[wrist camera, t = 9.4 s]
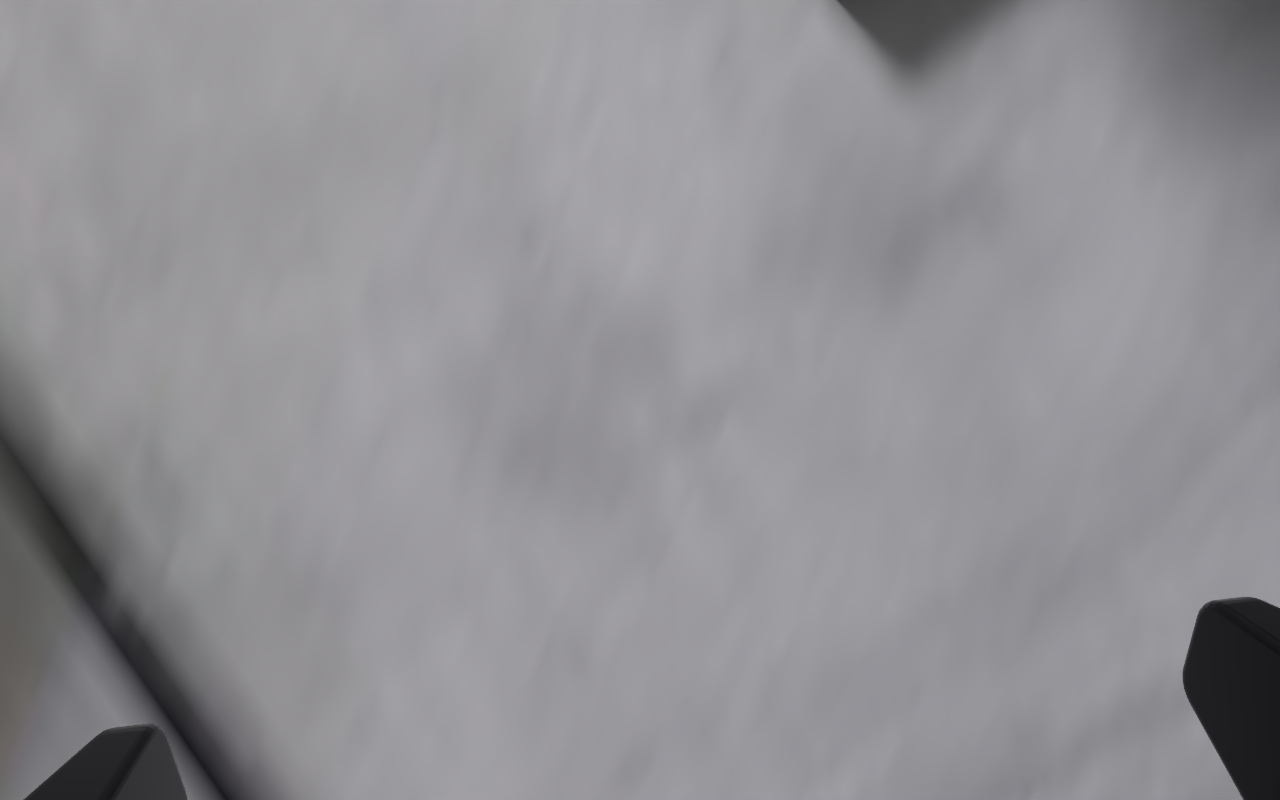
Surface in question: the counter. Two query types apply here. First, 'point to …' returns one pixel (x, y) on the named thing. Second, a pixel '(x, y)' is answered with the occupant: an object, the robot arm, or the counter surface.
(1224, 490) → the counter surface
